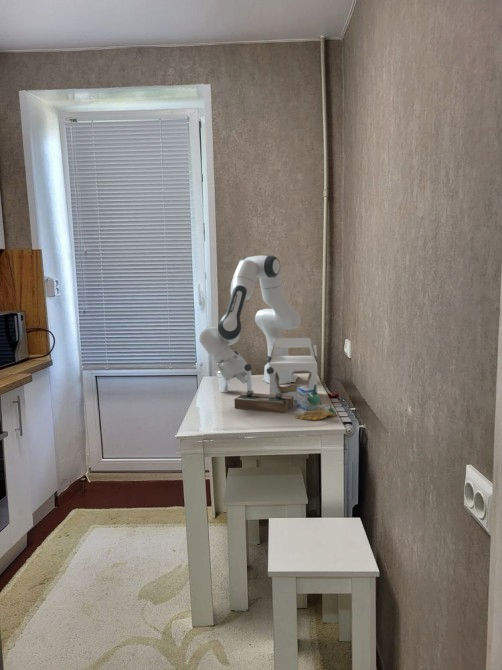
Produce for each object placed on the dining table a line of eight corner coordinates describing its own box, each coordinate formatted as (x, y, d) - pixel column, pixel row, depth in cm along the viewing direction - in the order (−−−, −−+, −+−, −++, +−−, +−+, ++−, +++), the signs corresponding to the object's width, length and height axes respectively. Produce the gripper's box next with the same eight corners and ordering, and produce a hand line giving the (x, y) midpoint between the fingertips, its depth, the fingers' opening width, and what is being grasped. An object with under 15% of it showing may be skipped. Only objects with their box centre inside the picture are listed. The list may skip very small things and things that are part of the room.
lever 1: (248, 394, 215) (245, 363, 213) (254, 394, 213) (252, 363, 212) (245, 396, 212) (243, 364, 210) (252, 396, 210) (249, 364, 209)
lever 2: (277, 398, 209) (266, 367, 209) (284, 396, 208) (273, 365, 208) (275, 400, 206) (264, 368, 207) (282, 398, 205) (271, 366, 205)
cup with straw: (213, 392, 237) (211, 352, 234) (219, 388, 245) (218, 349, 243) (229, 393, 234) (228, 353, 231) (235, 389, 243) (234, 350, 240)
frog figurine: (341, 421, 188) (337, 384, 186) (295, 426, 189) (291, 390, 187) (337, 413, 198) (333, 378, 196) (294, 418, 199) (290, 384, 197)
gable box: (316, 393, 232) (316, 335, 228) (318, 400, 218) (317, 339, 215) (270, 393, 234) (269, 336, 230) (269, 400, 220) (268, 340, 217)
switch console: (245, 401, 220) (245, 391, 220) (294, 405, 212) (294, 395, 211) (234, 408, 209) (234, 397, 209) (286, 412, 201) (286, 402, 200)
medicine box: (296, 406, 210) (296, 386, 209) (305, 404, 212) (305, 385, 211) (305, 410, 203) (305, 390, 202) (314, 409, 205) (314, 389, 204)
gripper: (219, 357, 204) (240, 382, 201) (239, 350, 223) (259, 373, 220) (210, 367, 206) (231, 391, 204) (231, 359, 225) (250, 381, 222)
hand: (245, 382), depth 212 cm, fingers closed, pressing on lever 1
